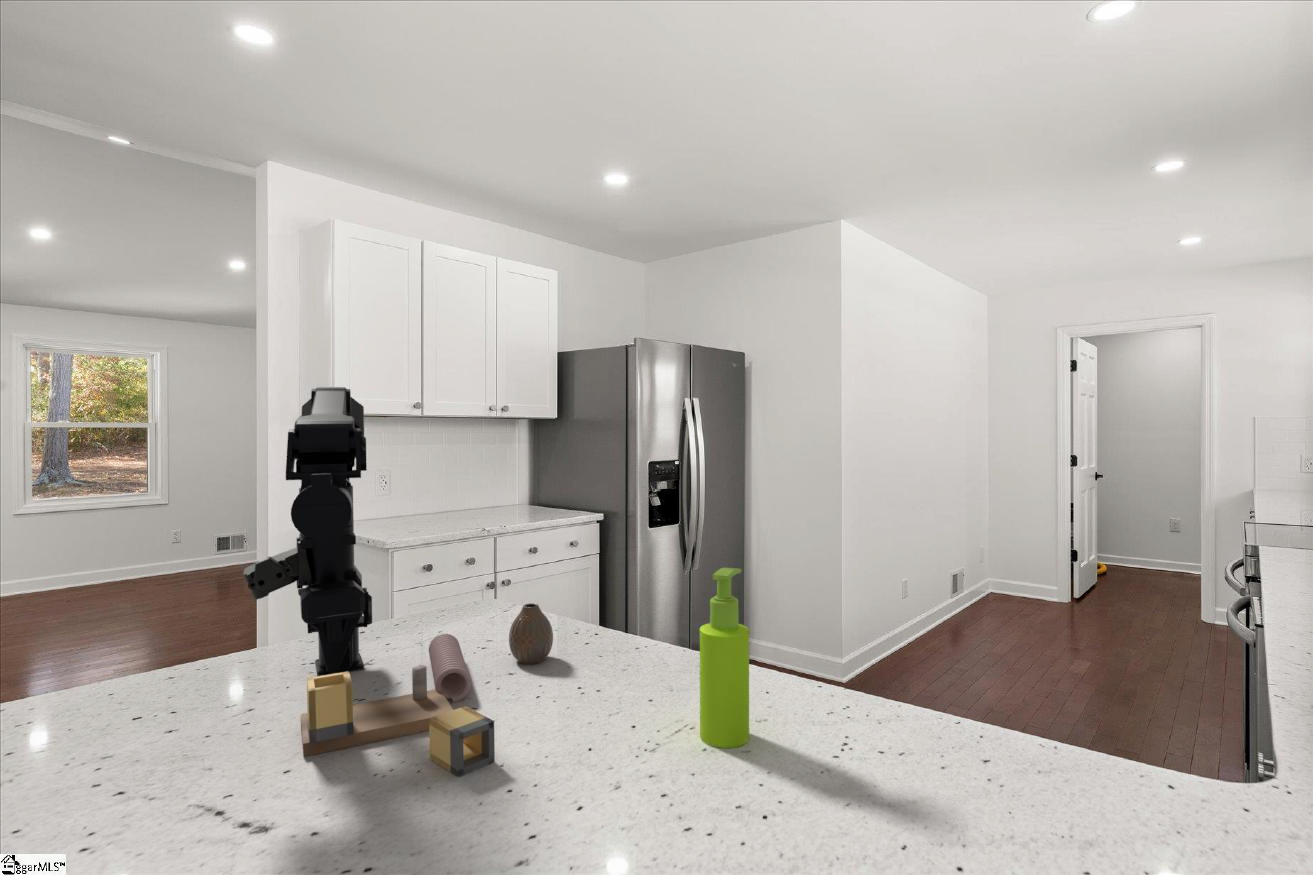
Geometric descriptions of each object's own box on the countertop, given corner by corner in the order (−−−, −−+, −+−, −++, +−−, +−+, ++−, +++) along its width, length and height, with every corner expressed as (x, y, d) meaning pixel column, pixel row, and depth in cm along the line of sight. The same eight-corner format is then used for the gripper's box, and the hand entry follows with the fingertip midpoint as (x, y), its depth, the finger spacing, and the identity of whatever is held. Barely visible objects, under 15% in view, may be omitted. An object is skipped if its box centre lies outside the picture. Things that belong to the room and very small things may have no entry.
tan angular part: (457, 734, 75) (429, 718, 79) (458, 777, 75) (429, 758, 79) (494, 720, 78) (465, 705, 82) (494, 761, 78) (465, 744, 82)
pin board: (300, 726, 87) (299, 682, 87) (440, 699, 96) (439, 659, 95) (303, 756, 80) (302, 708, 79) (455, 724, 88) (454, 681, 88)
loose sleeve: (349, 719, 86) (348, 671, 86) (353, 734, 82) (352, 683, 82) (307, 727, 84) (306, 678, 83) (309, 743, 80) (308, 691, 79)
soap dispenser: (757, 727, 86) (757, 566, 86) (740, 752, 80) (739, 578, 80) (713, 719, 89) (712, 563, 88) (692, 742, 83) (692, 574, 82)
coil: (472, 668, 95) (460, 631, 112) (437, 669, 94) (429, 632, 110) (469, 702, 95) (457, 660, 112) (434, 704, 94) (427, 661, 110)
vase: (560, 655, 113) (560, 601, 113) (540, 669, 107) (539, 612, 107) (523, 650, 116) (522, 598, 115) (500, 664, 109) (500, 609, 109)
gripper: (249, 521, 86) (252, 647, 87) (244, 544, 70) (247, 699, 70) (348, 515, 92) (350, 633, 92) (364, 535, 75) (367, 679, 76)
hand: (329, 658), depth 82 cm, fingers open, 9 cm apart
